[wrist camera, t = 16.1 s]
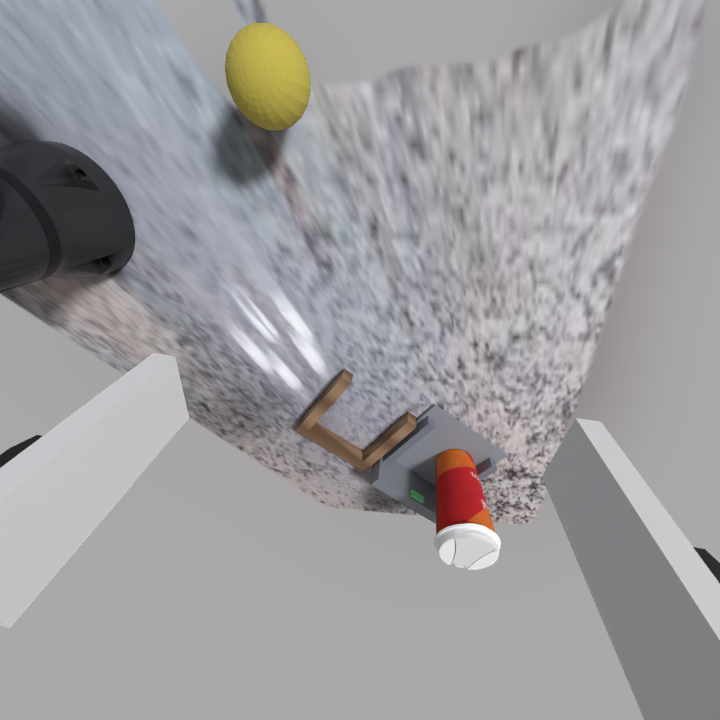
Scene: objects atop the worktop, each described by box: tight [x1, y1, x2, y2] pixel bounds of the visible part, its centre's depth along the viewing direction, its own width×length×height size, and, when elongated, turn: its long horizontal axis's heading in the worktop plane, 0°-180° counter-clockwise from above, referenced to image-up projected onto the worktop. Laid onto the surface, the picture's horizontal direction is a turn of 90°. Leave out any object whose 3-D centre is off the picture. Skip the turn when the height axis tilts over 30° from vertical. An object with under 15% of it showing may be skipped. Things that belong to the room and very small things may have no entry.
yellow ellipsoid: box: [225, 23, 311, 130], centre depth 28 cm, size 7×7×10 cm
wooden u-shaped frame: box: [296, 369, 416, 472], centre depth 52 cm, size 13×14×2 cm
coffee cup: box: [434, 449, 501, 570], centre depth 48 cm, size 8×8×15 cm
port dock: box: [371, 404, 507, 523], centre depth 52 cm, size 15×15×6 cm
